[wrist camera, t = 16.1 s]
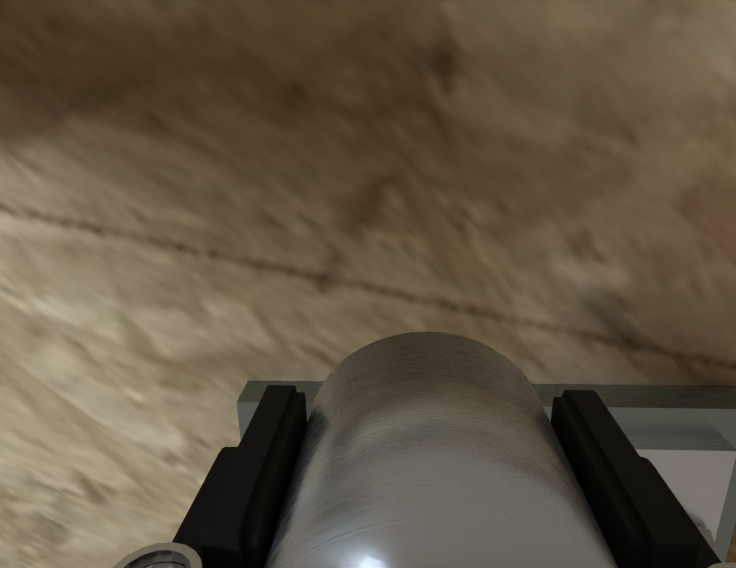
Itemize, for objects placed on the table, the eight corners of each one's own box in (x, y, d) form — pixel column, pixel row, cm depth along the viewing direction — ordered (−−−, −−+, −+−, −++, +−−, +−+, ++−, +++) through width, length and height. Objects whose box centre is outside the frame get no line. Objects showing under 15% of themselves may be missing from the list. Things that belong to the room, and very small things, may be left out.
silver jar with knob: (313, 530, 12) (255, 810, 7) (301, 330, 10) (216, 519, 6) (535, 537, 12) (628, 835, 7) (557, 332, 10) (698, 534, 5)
